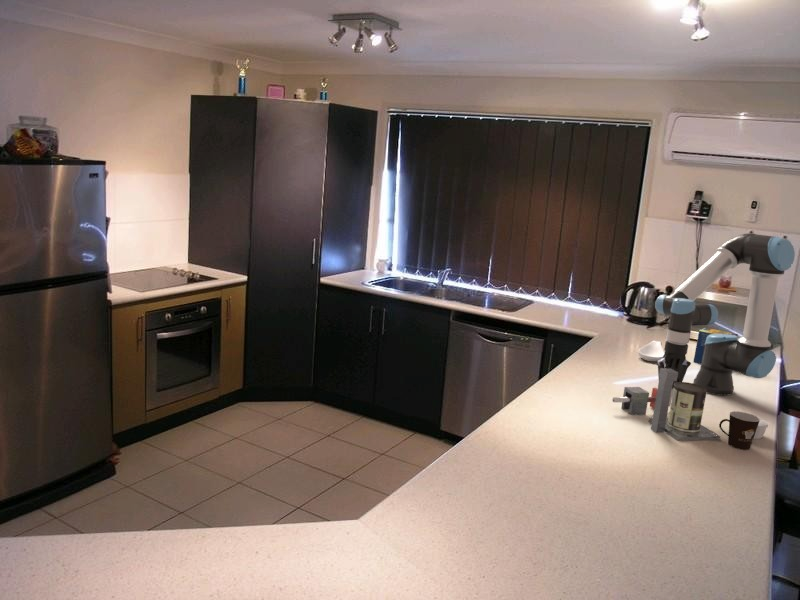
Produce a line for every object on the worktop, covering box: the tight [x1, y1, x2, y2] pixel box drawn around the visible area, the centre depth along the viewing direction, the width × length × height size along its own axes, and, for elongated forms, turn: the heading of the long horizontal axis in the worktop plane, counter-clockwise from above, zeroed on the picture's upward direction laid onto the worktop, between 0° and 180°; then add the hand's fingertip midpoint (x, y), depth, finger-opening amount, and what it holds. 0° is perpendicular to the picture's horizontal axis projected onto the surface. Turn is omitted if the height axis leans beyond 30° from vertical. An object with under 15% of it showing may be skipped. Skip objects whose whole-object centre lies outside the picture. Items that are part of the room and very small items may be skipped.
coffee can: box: [668, 381, 708, 432], centre depth 221 cm, size 10×10×14 cm
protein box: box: [692, 327, 739, 365], centre depth 310 cm, size 10×15×16 cm
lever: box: [612, 387, 658, 409], centre depth 236 cm, size 19×8×7 cm, turn 104°
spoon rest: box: [637, 340, 665, 363], centre depth 314 cm, size 24×12×7 cm, turn 150°
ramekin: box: [753, 417, 769, 440], centre depth 224 cm, size 11×11×5 cm
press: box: [620, 368, 721, 442], centre depth 226 cm, size 20×28×21 cm
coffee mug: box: [718, 410, 761, 451], centre depth 213 cm, size 12×9×10 cm
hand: (666, 404), depth 240 cm, fingers closed
